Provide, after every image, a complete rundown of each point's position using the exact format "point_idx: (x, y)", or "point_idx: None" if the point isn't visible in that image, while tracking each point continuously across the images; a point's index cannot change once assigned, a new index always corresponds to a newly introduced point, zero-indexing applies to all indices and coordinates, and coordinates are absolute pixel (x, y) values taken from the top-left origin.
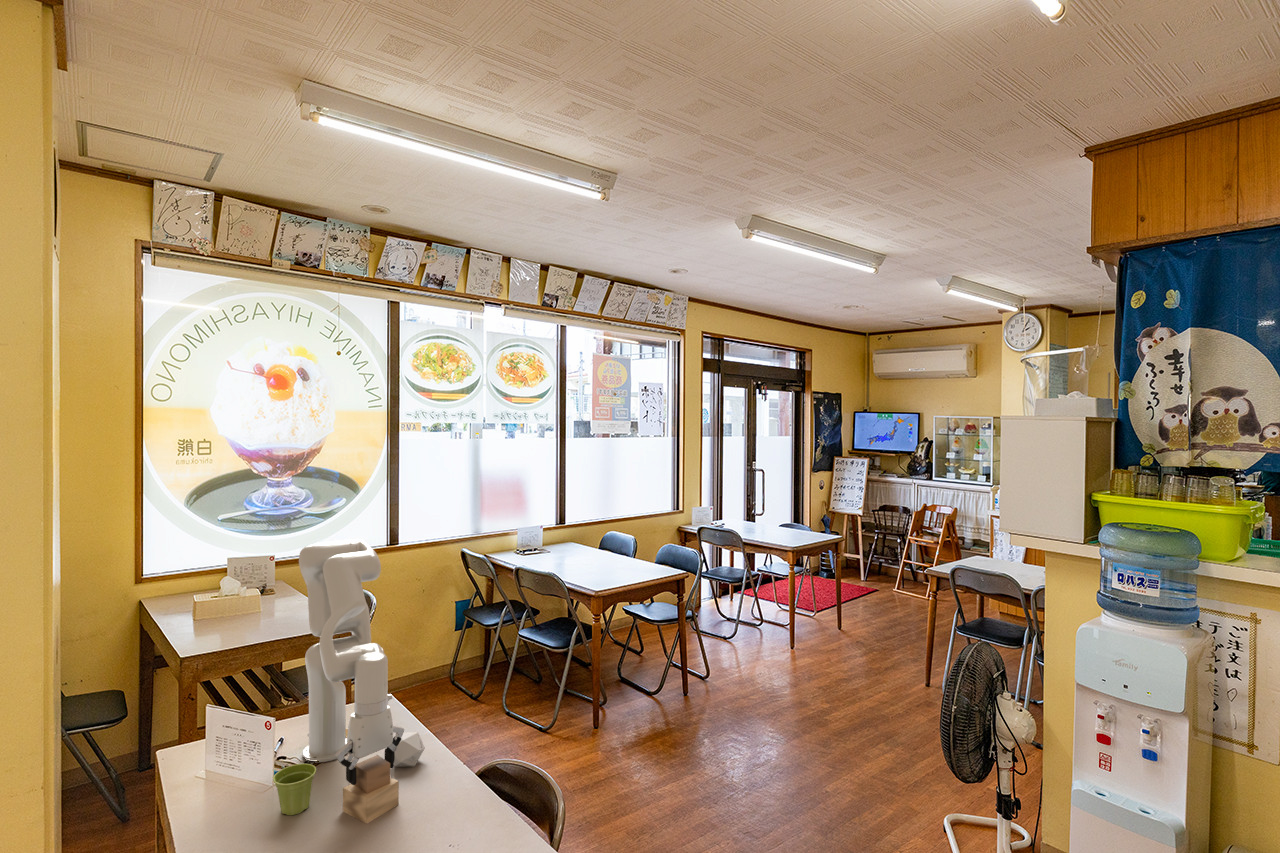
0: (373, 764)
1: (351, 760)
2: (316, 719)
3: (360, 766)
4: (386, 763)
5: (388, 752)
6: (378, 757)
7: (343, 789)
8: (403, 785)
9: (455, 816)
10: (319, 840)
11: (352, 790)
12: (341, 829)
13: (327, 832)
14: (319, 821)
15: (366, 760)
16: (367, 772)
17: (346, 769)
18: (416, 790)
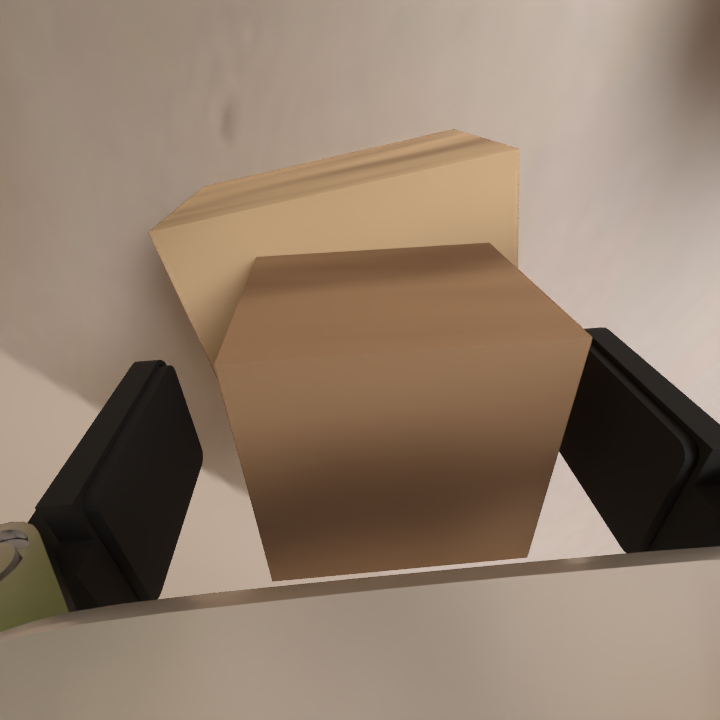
0: (404, 497)
1: (70, 602)
2: None
3: (266, 454)
4: (501, 547)
5: (648, 520)
6: (547, 404)
7: (155, 237)
8: (622, 187)
9: (536, 534)
10: (36, 358)
11: (213, 330)
12: (156, 348)
13: (82, 324)
14: (41, 180)
15: (397, 374)
16: (281, 574)
17: (38, 523)
18: (610, 297)
